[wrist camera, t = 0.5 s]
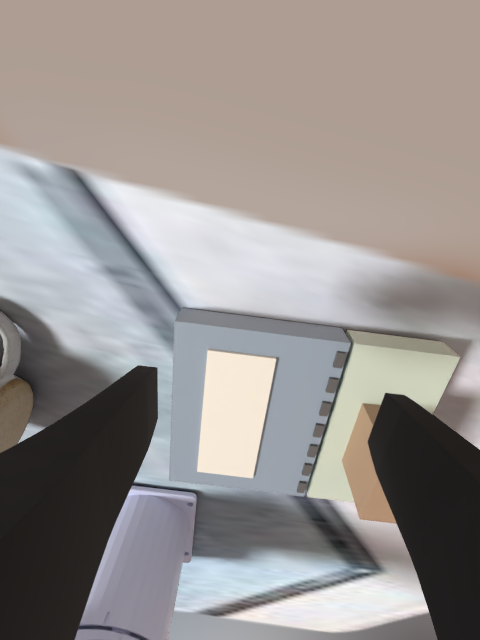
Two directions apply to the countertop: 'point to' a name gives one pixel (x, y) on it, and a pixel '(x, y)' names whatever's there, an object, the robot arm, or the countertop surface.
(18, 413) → the ceramic mug
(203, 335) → the board
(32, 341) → the countertop surface
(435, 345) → the stub
